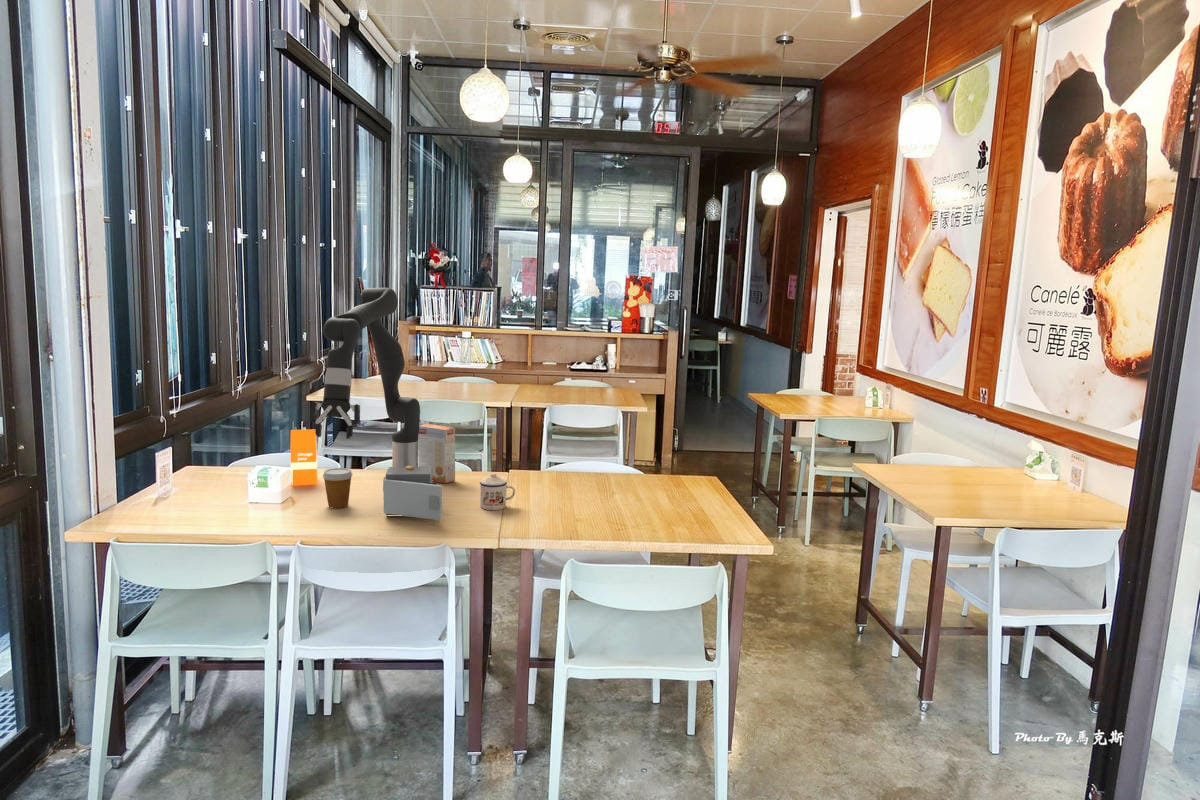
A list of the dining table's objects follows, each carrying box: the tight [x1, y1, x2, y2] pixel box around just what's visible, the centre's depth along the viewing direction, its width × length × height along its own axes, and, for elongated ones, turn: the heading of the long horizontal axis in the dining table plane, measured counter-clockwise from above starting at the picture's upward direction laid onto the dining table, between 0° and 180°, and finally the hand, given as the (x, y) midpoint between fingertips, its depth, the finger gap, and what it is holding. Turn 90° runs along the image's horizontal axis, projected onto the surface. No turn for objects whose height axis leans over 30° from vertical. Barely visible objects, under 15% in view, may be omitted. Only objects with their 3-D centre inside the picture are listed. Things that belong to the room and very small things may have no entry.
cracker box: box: [418, 423, 456, 484], centre depth 299 cm, size 14×6×21 cm, turn 58°
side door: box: [382, 479, 443, 521], centre depth 249 cm, size 2×20×11 cm, turn 74°
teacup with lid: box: [479, 472, 516, 511], centre depth 268 cm, size 12×9×12 cm
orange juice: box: [290, 428, 319, 487], centre depth 290 cm, size 8×9×20 cm
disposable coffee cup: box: [322, 467, 353, 509], centre depth 263 cm, size 10×10×12 cm
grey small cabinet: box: [382, 466, 438, 516], centre depth 259 cm, size 10×17×15 cm, turn 99°
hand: (333, 437), depth 236 cm, fingers open, 8 cm apart
